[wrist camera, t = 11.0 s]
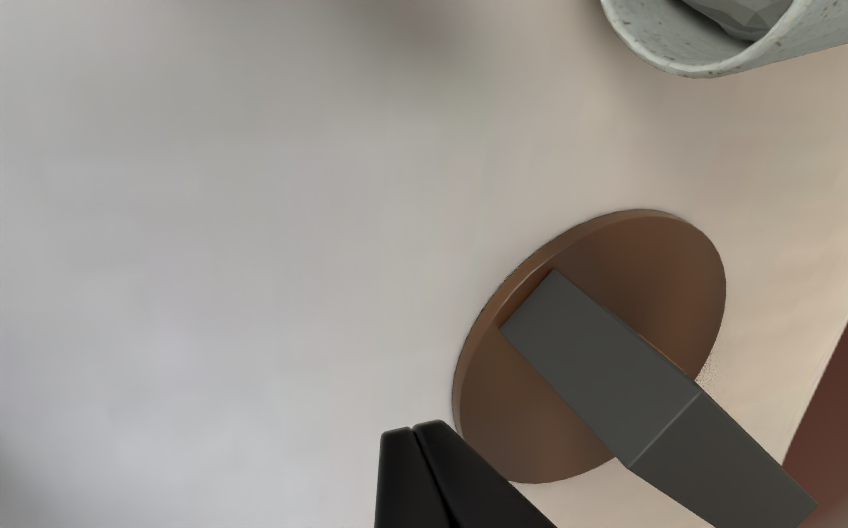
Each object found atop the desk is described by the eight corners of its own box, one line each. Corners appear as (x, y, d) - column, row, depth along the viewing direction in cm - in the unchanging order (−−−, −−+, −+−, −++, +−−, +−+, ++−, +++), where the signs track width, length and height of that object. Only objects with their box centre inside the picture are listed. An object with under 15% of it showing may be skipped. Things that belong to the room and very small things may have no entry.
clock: (640, 436, 32) (764, 560, 26) (497, 329, 24) (626, 469, 19) (688, 386, 31) (823, 501, 26) (558, 263, 24) (707, 385, 18)
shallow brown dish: (522, 516, 32) (530, 527, 32) (393, 359, 24) (400, 371, 23) (735, 347, 33) (746, 355, 33) (680, 141, 25) (693, 147, 24)
